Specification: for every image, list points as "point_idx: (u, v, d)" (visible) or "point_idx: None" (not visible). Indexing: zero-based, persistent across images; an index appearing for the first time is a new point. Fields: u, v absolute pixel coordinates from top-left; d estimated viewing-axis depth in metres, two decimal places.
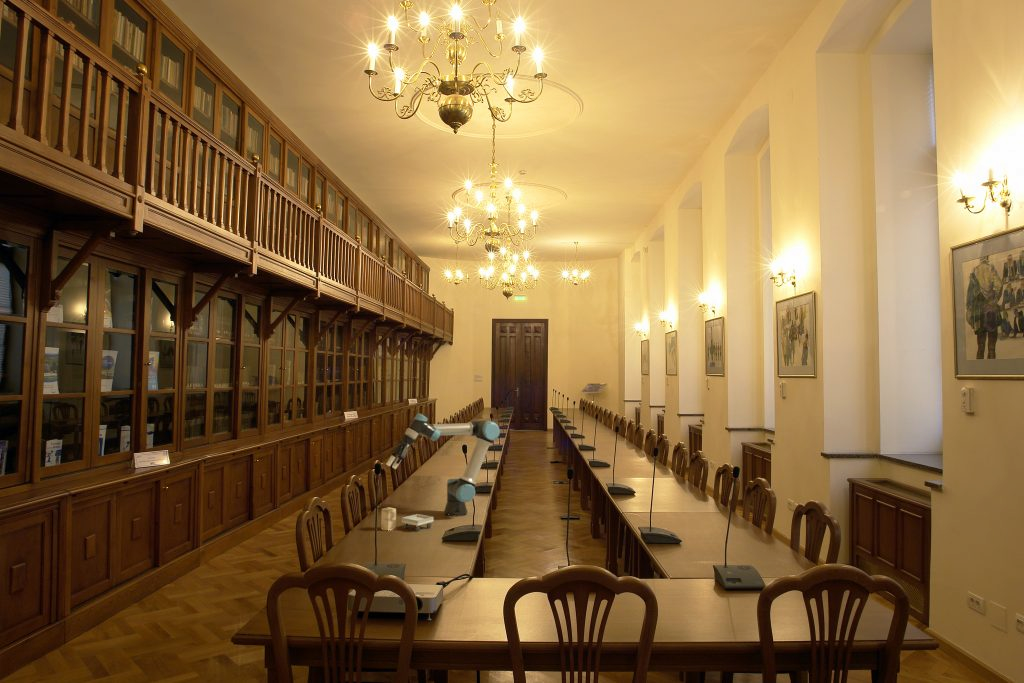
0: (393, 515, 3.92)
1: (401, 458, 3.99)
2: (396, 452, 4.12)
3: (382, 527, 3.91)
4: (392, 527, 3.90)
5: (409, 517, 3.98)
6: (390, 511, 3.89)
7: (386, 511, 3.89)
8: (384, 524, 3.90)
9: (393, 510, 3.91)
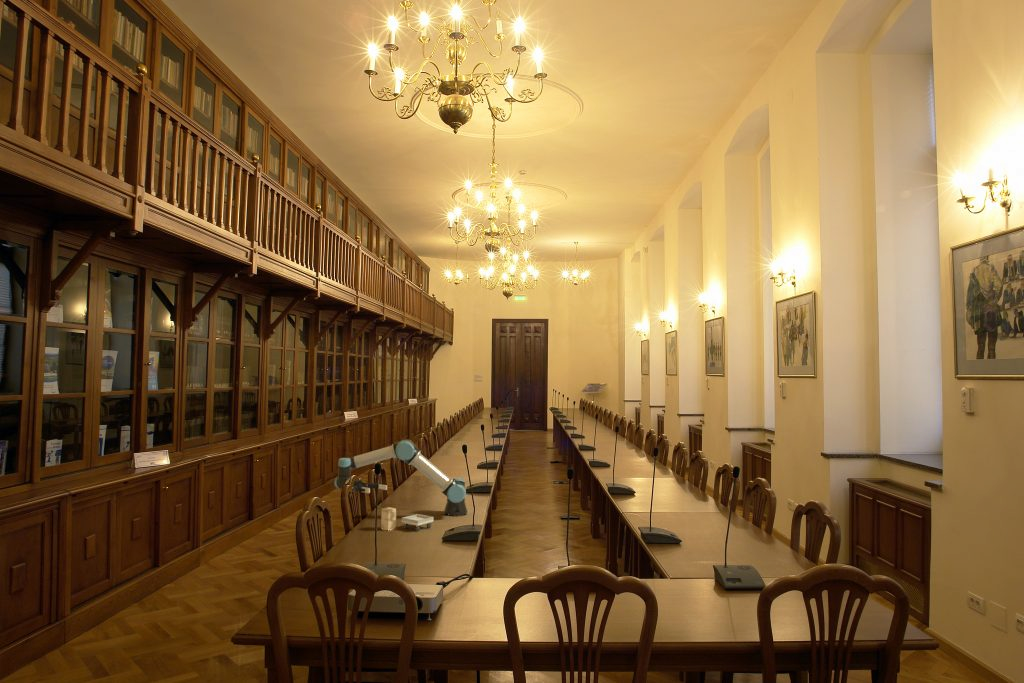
0: (393, 515, 3.92)
1: (358, 489, 3.95)
2: (373, 486, 4.08)
3: (382, 527, 3.91)
4: (392, 527, 3.90)
5: (409, 517, 3.98)
6: (390, 511, 3.89)
7: (386, 511, 3.89)
8: (384, 524, 3.90)
9: (393, 510, 3.91)
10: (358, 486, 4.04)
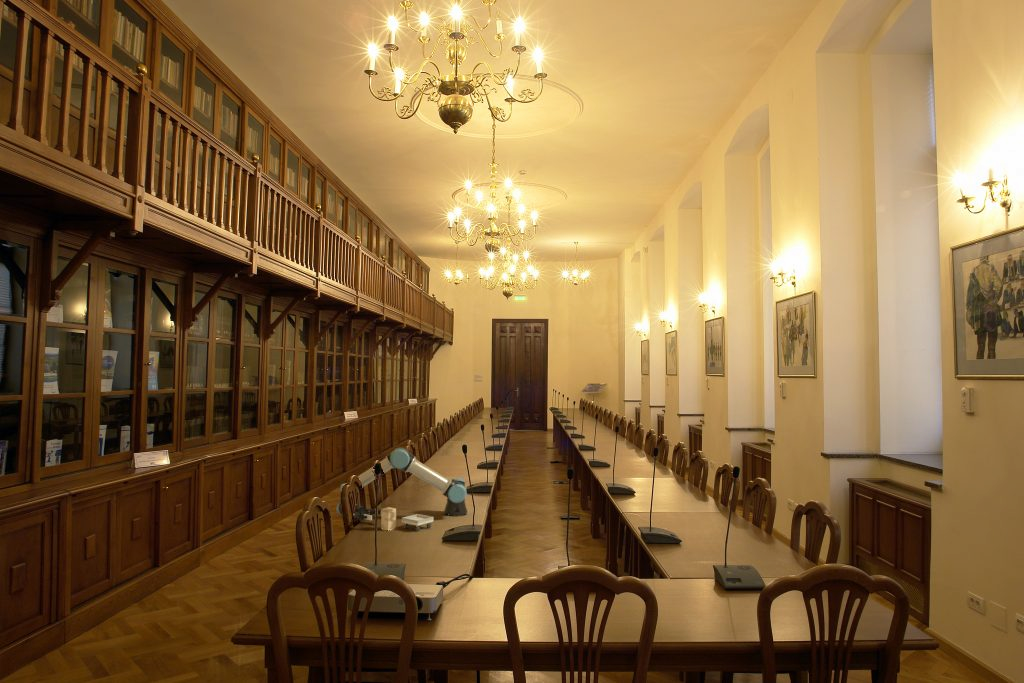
0: (394, 515, 3.92)
1: (360, 516, 3.93)
2: None
3: (382, 527, 3.91)
4: (392, 527, 3.90)
5: (409, 517, 3.98)
6: (390, 511, 3.89)
7: (386, 511, 3.89)
8: (384, 524, 3.90)
9: (393, 510, 3.91)
10: (360, 513, 4.02)
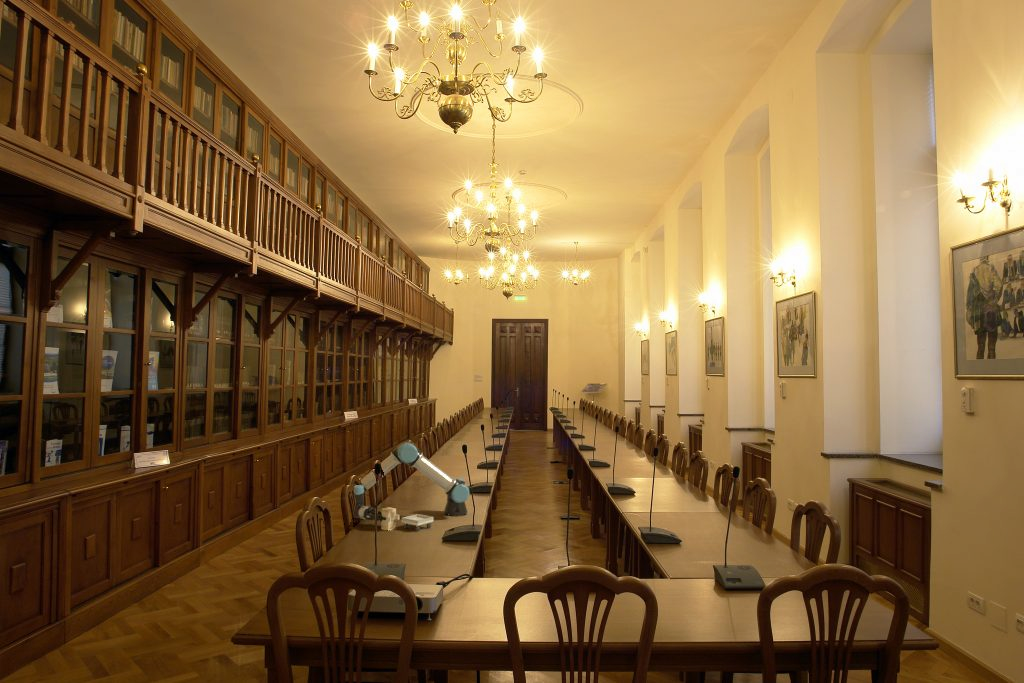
0: (393, 515, 3.92)
1: (379, 518, 3.89)
2: None
3: (382, 527, 3.91)
4: (392, 527, 3.90)
5: (409, 517, 3.98)
6: (390, 511, 3.89)
7: (386, 511, 3.89)
8: (384, 524, 3.90)
9: (393, 510, 3.91)
10: (373, 514, 3.96)
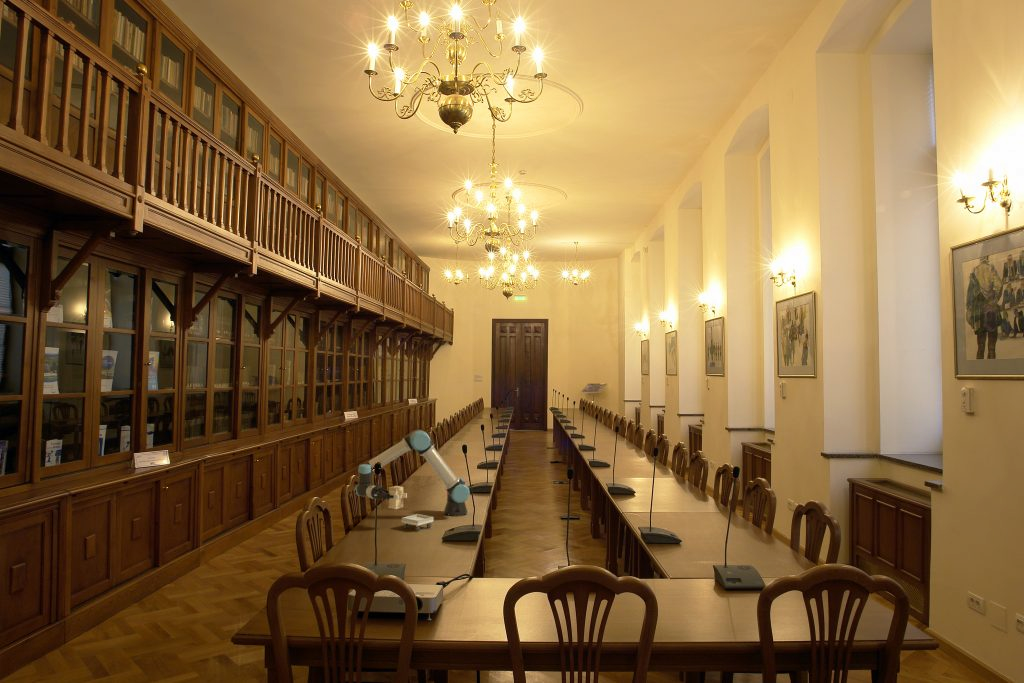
0: (401, 493, 3.93)
1: (387, 496, 3.90)
2: None
3: (389, 505, 3.92)
4: (399, 505, 3.91)
5: (409, 517, 3.98)
6: (397, 489, 3.91)
7: (393, 489, 3.90)
8: (392, 502, 3.91)
9: (400, 488, 3.92)
10: (381, 493, 3.97)
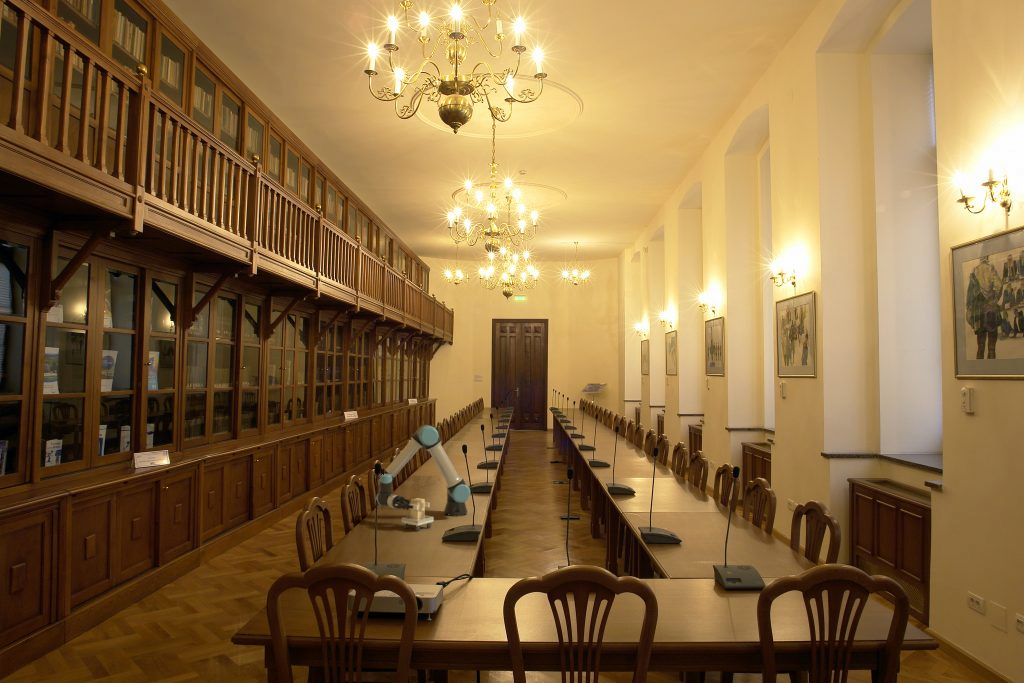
0: (422, 506, 3.94)
1: (406, 506, 3.91)
2: None
3: (411, 518, 3.94)
4: (421, 518, 3.93)
5: (409, 517, 3.98)
6: (419, 502, 3.92)
7: (415, 502, 3.92)
8: (413, 515, 3.93)
9: (422, 501, 3.94)
10: (402, 503, 3.99)
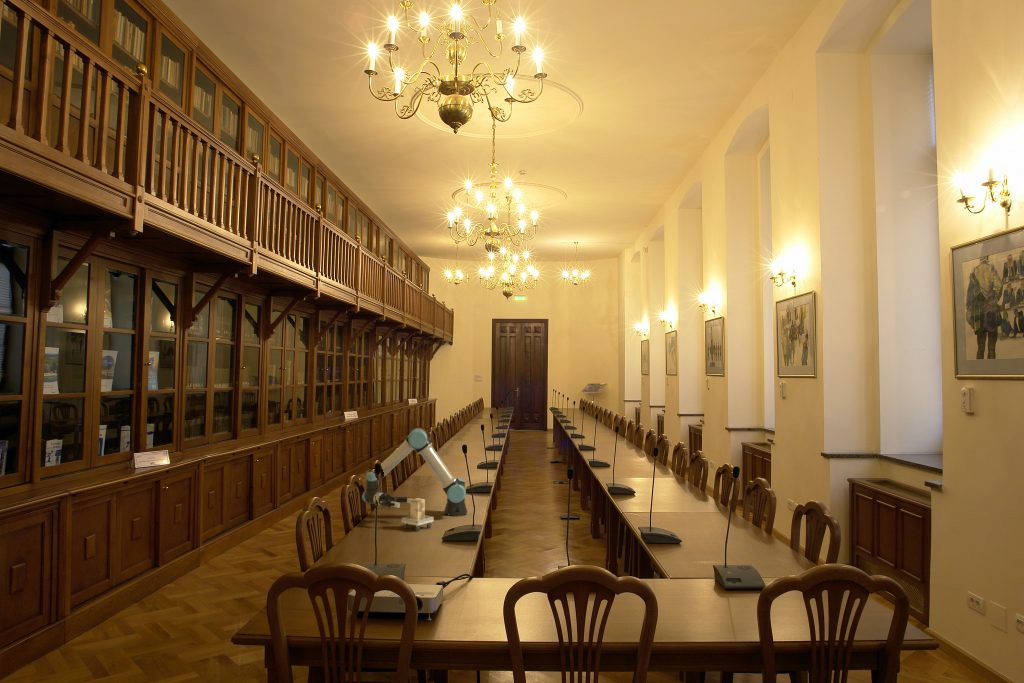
0: (423, 506, 3.95)
1: (388, 504, 3.97)
2: (402, 500, 4.10)
3: (411, 518, 3.94)
4: (421, 518, 3.93)
5: (409, 517, 3.98)
6: (419, 502, 3.92)
7: (415, 502, 3.92)
8: (414, 515, 3.93)
9: (422, 501, 3.94)
10: (387, 500, 4.06)
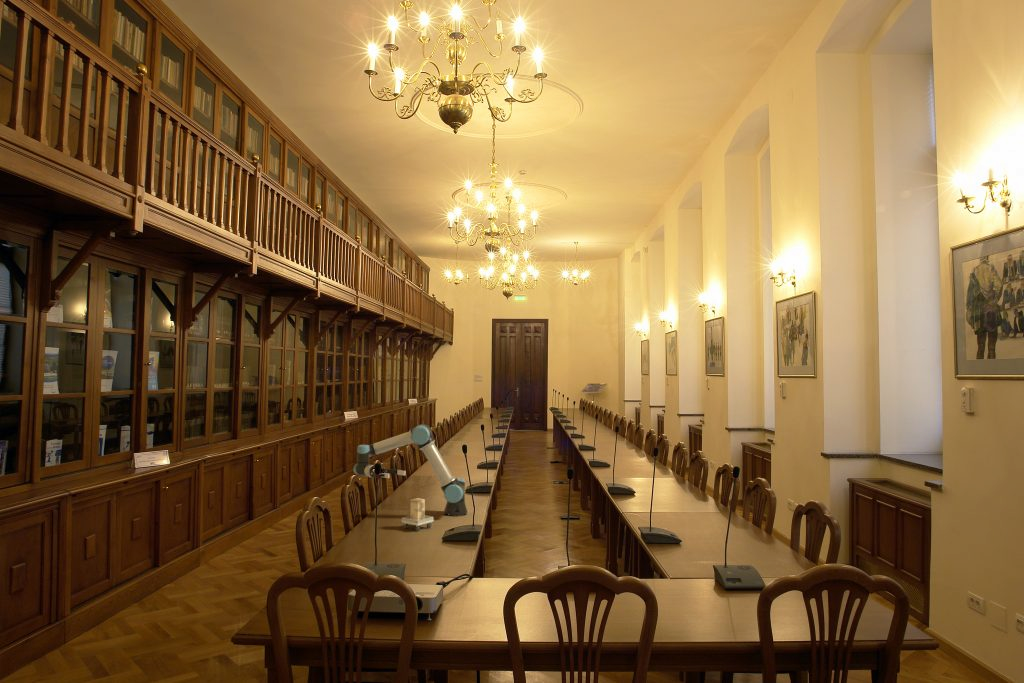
0: (423, 506, 3.95)
1: None
2: (392, 472, 4.16)
3: (411, 518, 3.94)
4: (421, 518, 3.93)
5: (409, 517, 3.98)
6: (419, 502, 3.92)
7: (415, 502, 3.92)
8: (414, 515, 3.93)
9: (422, 501, 3.94)
10: None
